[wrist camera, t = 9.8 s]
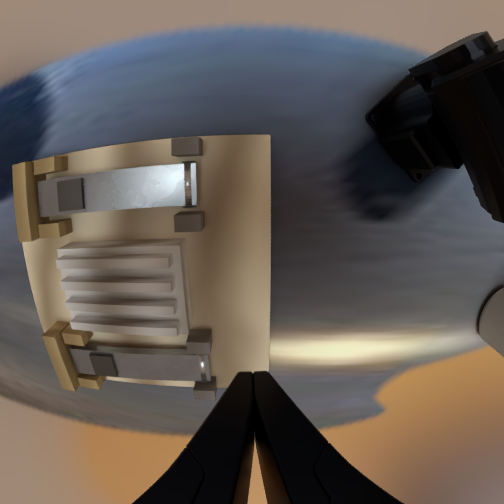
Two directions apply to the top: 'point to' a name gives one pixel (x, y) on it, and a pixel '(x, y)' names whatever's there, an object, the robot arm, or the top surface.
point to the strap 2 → (141, 363)
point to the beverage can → (493, 322)
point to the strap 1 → (121, 190)
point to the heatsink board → (156, 260)
